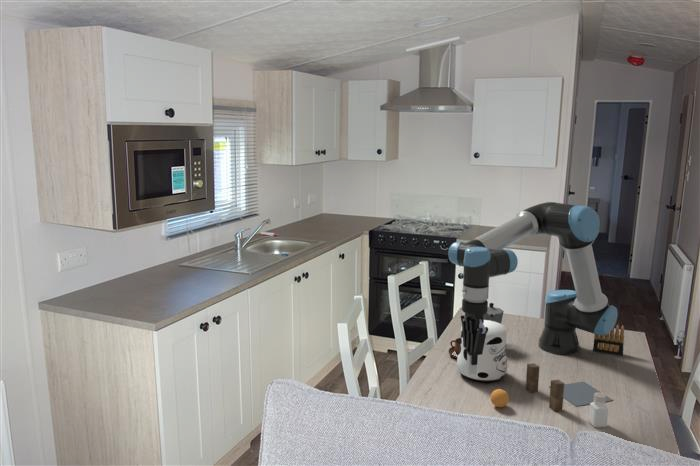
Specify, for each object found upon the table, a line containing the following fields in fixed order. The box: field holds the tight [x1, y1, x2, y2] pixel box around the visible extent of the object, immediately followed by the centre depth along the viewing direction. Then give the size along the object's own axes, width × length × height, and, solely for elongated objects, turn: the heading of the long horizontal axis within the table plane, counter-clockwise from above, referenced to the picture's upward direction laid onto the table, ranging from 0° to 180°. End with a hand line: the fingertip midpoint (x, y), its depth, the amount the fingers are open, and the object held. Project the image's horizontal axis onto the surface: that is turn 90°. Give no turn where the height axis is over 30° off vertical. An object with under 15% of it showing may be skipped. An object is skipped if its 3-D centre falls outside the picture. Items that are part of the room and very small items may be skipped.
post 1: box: [525, 362, 540, 394], centre depth 187 cm, size 3×3×9 cm
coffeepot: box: [483, 302, 504, 324], centre depth 225 cm, size 15×9×18 cm, turn 167°
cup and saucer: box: [448, 337, 461, 359], centre depth 215 cm, size 12×12×6 cm
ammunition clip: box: [592, 324, 625, 356], centre depth 218 cm, size 11×2×12 cm, turn 65°
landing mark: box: [548, 380, 614, 408], centre depth 185 cm, size 14×14×1 cm
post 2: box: [548, 379, 565, 412], centre depth 174 cm, size 3×3×9 cm
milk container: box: [456, 320, 508, 383], centre depth 198 cm, size 17×17×18 cm
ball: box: [490, 388, 510, 408], centre depth 176 cm, size 6×6×6 cm
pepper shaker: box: [588, 392, 609, 428], centre depth 165 cm, size 4×4×10 cm
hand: (471, 373), depth 172 cm, fingers closed
